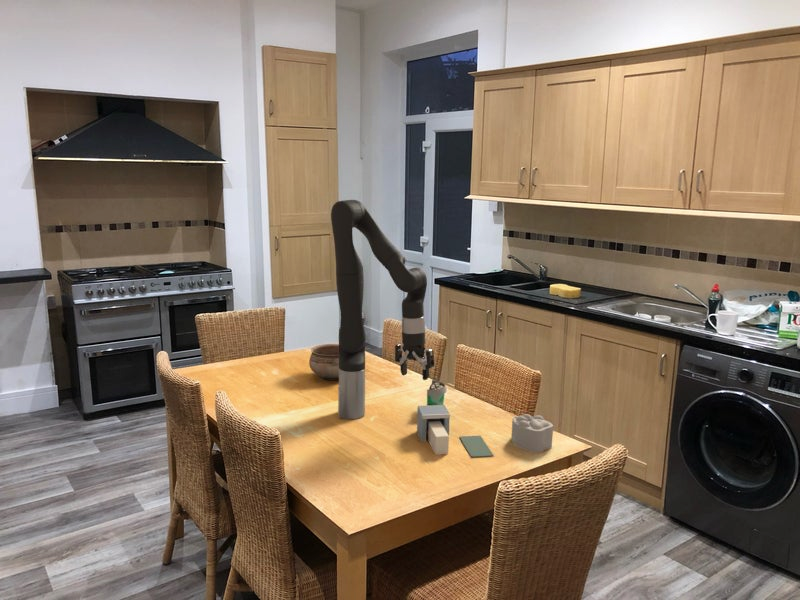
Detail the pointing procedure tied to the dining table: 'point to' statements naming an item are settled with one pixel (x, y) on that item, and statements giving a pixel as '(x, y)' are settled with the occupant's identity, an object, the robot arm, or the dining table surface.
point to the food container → (436, 393)
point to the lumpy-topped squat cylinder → (531, 433)
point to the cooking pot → (325, 361)
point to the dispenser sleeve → (431, 418)
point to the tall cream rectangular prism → (438, 437)
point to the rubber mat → (476, 446)
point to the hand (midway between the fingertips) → (414, 377)
